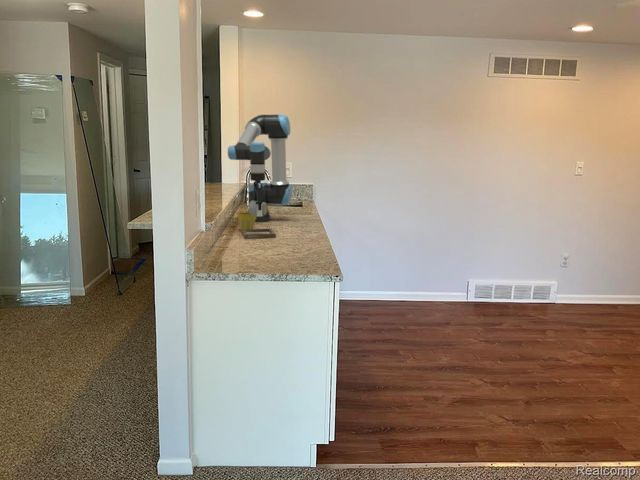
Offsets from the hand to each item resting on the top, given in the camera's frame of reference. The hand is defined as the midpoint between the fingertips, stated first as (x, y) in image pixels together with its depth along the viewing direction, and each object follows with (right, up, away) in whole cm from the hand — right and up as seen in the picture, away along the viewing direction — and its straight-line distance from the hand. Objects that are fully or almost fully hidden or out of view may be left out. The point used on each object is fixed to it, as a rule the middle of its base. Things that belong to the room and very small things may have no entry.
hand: (258, 214), depth 272 cm
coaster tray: (0, -11, +2) cm, 11 cm away
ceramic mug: (0, 0, +1) cm, 1 cm away
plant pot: (-8, -8, +17) cm, 21 cm away
